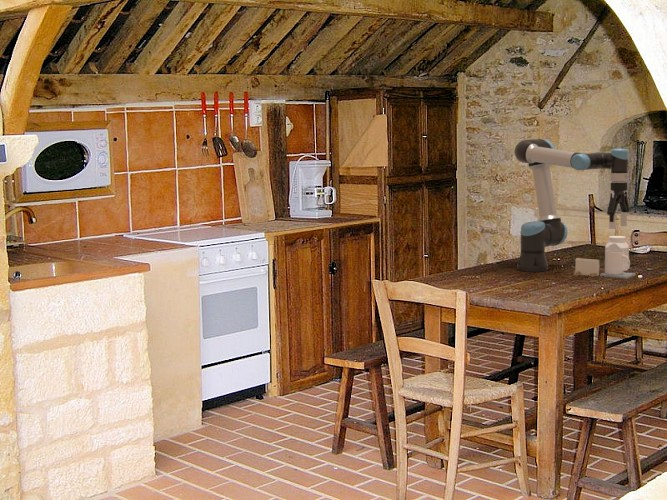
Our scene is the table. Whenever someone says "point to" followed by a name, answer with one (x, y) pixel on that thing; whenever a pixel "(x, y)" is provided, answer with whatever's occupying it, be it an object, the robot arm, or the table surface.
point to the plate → (624, 275)
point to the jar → (619, 246)
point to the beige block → (587, 267)
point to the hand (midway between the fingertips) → (617, 227)
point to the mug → (615, 262)
